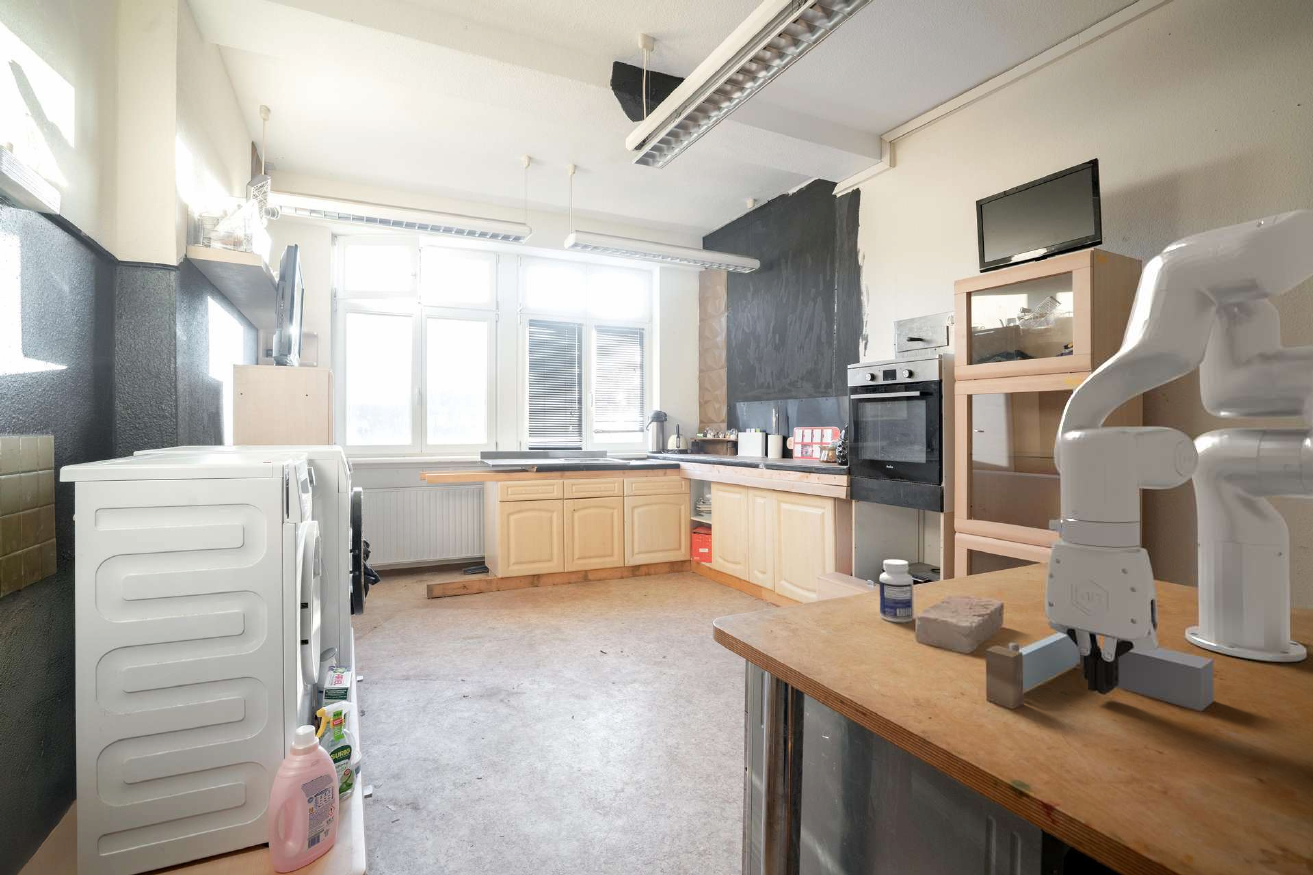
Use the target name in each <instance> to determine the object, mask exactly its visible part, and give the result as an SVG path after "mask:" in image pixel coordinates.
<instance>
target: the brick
mask: <svg viewBox="0 0 1313 875" xmlns="http://www.w3.org/2000/svg"><path fill="white" fill-rule="evenodd" d="M1004 609H1005V604H1004V602H1002V601H1001V600H997V599H994V598H988V597H979V596H978V597H977V596H973V595H971V596H968V595H966V594H963V595H962V594H954V593H951V594H948V595H946V596H945V597H944V598H943V599H942V600H941V601H939V603H936V604H933V605H932V606H929V607H926V608H924V609H923V610H922V611H920V612H919V613H917V614H916V616H915V617H916V619H915V635H914V640H916V642H918V643H922V644H925V645H929V646H935V647H939V648H943V649H946V650H951V651H954V652H957V653H963V654H964V653H965V654H969V653H972V652H973V651H975V650H977V648H978V646H981V645H982V644H983V643H984V642H985V641H988V640H989V639H990V637H992V636H994V634H996V633H997V632H998V631H999V630H1000V629H1001V628H1002V627H1003V623H1004V615H1005V614H1004V611H1005V610H1004Z"/></svg>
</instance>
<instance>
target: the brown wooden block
mask: <svg viewBox="0 0 1313 875" xmlns="http://www.w3.org/2000/svg"><path fill="white" fill-rule="evenodd" d="M985 674H986V675H985V678H986V679H985V680H986V681H985V683H986V684H985V686H986V687H985V690H986V695H985V696H986V701H989V702H991V703H994V704H996V705H1000V706H1002V707H1005V708H1008V709H1011V710H1015V709H1016V708H1018V707H1020V706H1022V705H1023V704H1024V692H1023V654H1022V652H1018V651H1015V650H1011V649H1009V648H1007V647H1004V646H999V645H994V646H992V647H989V648H987V649H985Z"/></svg>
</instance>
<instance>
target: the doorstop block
mask: <svg viewBox="0 0 1313 875" xmlns="http://www.w3.org/2000/svg"><path fill="white" fill-rule="evenodd" d="M1214 673H1215V672H1214V659H1212V658H1207V657H1203V656H1199V655H1194V654H1190V653H1185V652H1182V651H1181V652H1180V651H1177V650H1173V649H1168V648H1163V647H1158V648H1157V649H1156V650H1154V651H1151V652H1148V651H1129V652H1127V653H1125V654H1124V655H1122V656H1120V657H1119V683H1118V686H1117V687H1116V688H1117V689H1119V690H1123V691H1128V692H1132V693H1135V694H1138V695H1141V696H1145V697H1149V698H1152V699H1156V700H1160V701H1163V702H1166V701H1167V703H1170V704H1173V705H1176V706H1177V705H1178V706H1180V707H1184V708H1188V709H1192V710H1195V711H1197V712H1202V711H1203V710H1205V709H1206V708H1207V707H1209V706H1210V705H1211V704H1212V703H1214V702H1215V694H1214V693H1215V690H1214V689H1215V688H1214V686H1215V682H1214V679H1215V677H1214ZM1209 704H1210V705H1209ZM1204 708H1205V709H1204Z"/></svg>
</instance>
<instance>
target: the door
mask: <svg viewBox="0 0 1313 875" xmlns="http://www.w3.org/2000/svg"><path fill="white" fill-rule="evenodd" d="M1008 646H1009V648H1008V649H1011V650H1015V651H1018V652H1022V654H1023V693H1024V692H1026V691H1027V690H1030V689H1031V688H1034V687H1035V686H1038V685H1040V684H1042V683H1043V682H1047V680H1049V679H1051V678H1053V677H1055V676H1057V675H1059V674H1061V673H1063V672H1065V671H1067V670H1069V669H1071V668H1073V667H1074V666H1075V667H1076V666H1078V665H1077V664H1079V663H1080V652H1079V649H1078V647H1077V645H1076V644H1075V643H1074V642H1073V641H1072V640H1071V639H1070V638H1069V636H1068V635H1066V634H1063V633H1060V632H1057V633H1054V634H1052V635H1050V636H1047V637H1045V638H1043V639H1041V640H1038V641H1036V642H1033V643H1031V644H1029V645H1027V646H1024V647H1022V648H1020V645H1019V643H1015V642H1009V644H1008Z"/></svg>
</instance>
